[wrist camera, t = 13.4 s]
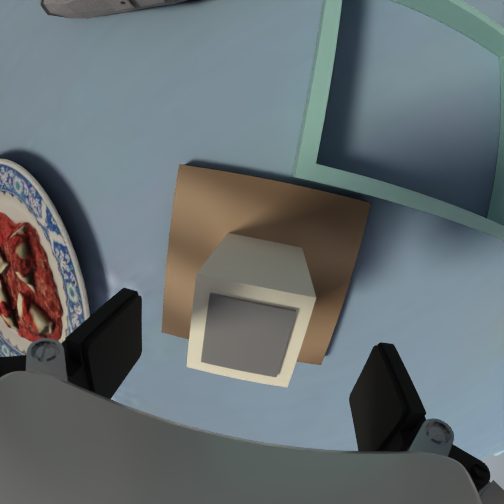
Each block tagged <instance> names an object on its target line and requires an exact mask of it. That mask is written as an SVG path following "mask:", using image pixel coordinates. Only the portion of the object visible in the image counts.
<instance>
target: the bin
mask: <svg viewBox="0 0 504 504" xmlns="http://www.w3.org/2000/svg"><path fill="white" fill-rule="evenodd" d="M392 1H394V2H397V3H400V4H402V5H405V6H407V7H409V8H412V9H414V10H416V11H419V12H421V13H423V14H425V15H427V16H430V17H432V18H434V19H436V20H438V21H440V22H442V23H444V24H446V25H447V26H449V27H451V28H453V29H455V30H457V31H458V32H460V33H462V34H464V35H465V36H467V37H469V38H471V39H472V40H474V41H475V42H477V43H479V44H480V45H482V46H483V47H485V48H486V49H488V50H489V51H491V52H492V53H494V54H495V55H497V56H498V57H499V64H500V82H501V116H500V135H499V147H498V156H497V164H496V172H495V178H494V185H493V190H492V196H491V201H490V206H489V210H488V215H487V218H484V217H482V216H480V215H477V214H475V213H472V212H470V211H467V210H465V209H462V208H459V207H457V206H454V205H452V204H449V203H446V202H443V201H441V200H438V199H435V198H432V197H429V196H427V195H424V194H421V193H418V192H415V191H412V190H409V189H405V188H402V187H399V186H396V185H393V184H389V183H386V182H383V181H379V180H376V179H372V178H369V177H365V176H362V175H358V174H354V173H351V172H347V171H343V170H339V169H335V168H331V167H327V166H323V165H319V164H316V160H317V155H318V150H319V145H320V140H321V134H322V129H323V124H324V118H325V112H326V107H327V101H328V95H329V89H330V83H331V77H332V70H333V64H334V57H335V51H336V44H337V37H338V29H339V22H340V14H341V6H342V0H323V6H322V12H321V18H320V25H319V31H318V37H317V43H316V49H315V55H314V61H313V66H312V72H311V78H310V84H309V89H308V95H307V100H306V106H305V111H304V116H303V122H302V127H301V132H300V138H299V143H298V148H297V153H296V158H295V163H294V168H293V173H292V176H293V177H296V178H300V179H305V180H309V181H314V182H318V183H322V184H327V185H331V186H335V187H339V188H343V189H347V190H351V191H355V192H359V193H362V194H366V195H370V196H374V197H377V198H381V199H384V200H388V201H391V202H395V203H398V204H401V205H405V206H408V207H411V208H415V209H418V210H421V211H424V212H427V213H430V214H433V215H436V216H439V217H442V218H445V219H448V220H451V221H454V222H457V223H460V224H462V225H465V226H468V227H471V228H473V229H476V230H479V231H481V232H484V233H487V234H489V235H492V236H494V237H497V238H499V239H502V240H504V28H503V27H502V26H500V25H499V24H498V23H496V22H495V21H493V20H492V19H490V18H489V17H488V16H486V15H485V14H483V13H482V12H480V11H478V10H477V9H475V8H474V7H472V6H470V5H469V4H467V3H465V2H464V1H462V0H392Z"/></svg>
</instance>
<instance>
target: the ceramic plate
mask: <svg viewBox="0 0 504 504" xmlns="http://www.w3.org/2000/svg"><path fill="white" fill-rule="evenodd" d="M89 317H90V311H89V303H88V298H87V292H86V288H85V284H84V279H83V276H82V273H81V269H80V266H79V262H78V259H77V256H76V253H75V251H74V248H73V245H72V243H71V240H70V237H69V235H68V233H67V230H66V228H65V226H64V224H63V221H62V219H61V217H60V216H59V214H58V212H57V210H56V208H55V206H54V204H53V203H52V201H51V199H50V198H49V196H48V195H47V193H46V192H45V190H44V189H43V187H42V186H41V185H40V184H39V182H38V181H37V180H36V179H35V178H34V177H33V176H32V175H31V174H30V173H29V172H28V171H27V170H26V169H24V168H23V167H22V166H20V165H19V164H17V163H15V162H13V161H10V160H7V159H0V354H1V355H2V356H3V357H9V356H20V355H26V354H27V349H28V347H29V345H30V344H31V343H33V342H34V341H36V340H38V339H43V338H51V339H55V340H57V341H59V342H60V343H62V342H63V341H65V340H66V339H65V338H66V337H67V336H68V335H69V334H70V333H72V332H73V331H74V330H75V329H76V328H77V327H78V326H79V325H81V324H82V323H83V322H84V321H85V320H86V319H87V318H89Z"/></svg>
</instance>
